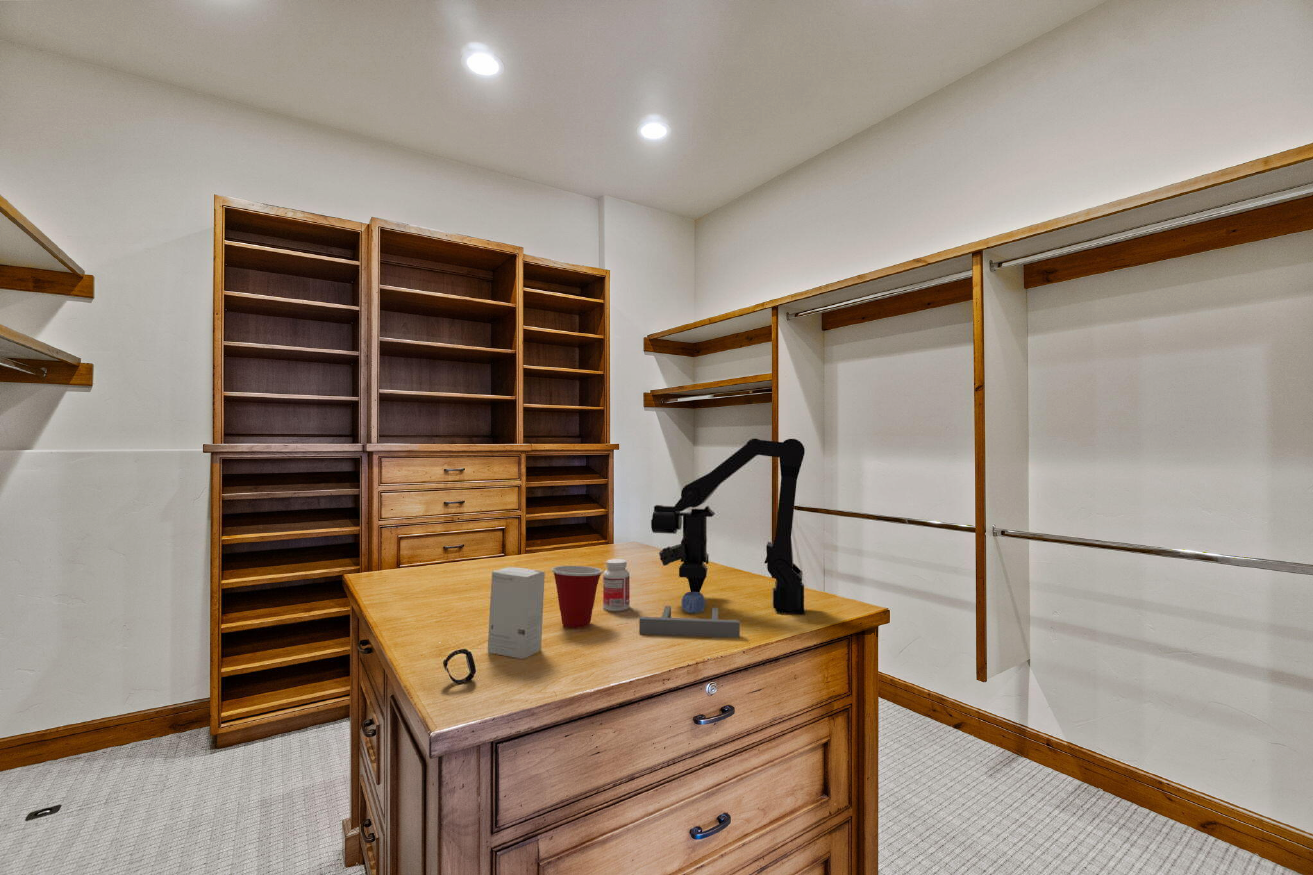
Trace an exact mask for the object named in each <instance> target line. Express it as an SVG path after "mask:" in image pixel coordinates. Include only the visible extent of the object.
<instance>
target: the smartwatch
mask: <svg viewBox="0 0 1313 875" xmlns="http://www.w3.org/2000/svg"><path fill="white" fill-rule="evenodd" d="M460 654H461V655H465V659H466V664H467V668H468V670H469V673H468V675H467V676H465V677H464V678H462V679H456V678H454V677H453V676H452V675H451V674H450V671H449V668H448V664H449V663H448V662H450V660H451V659H452V658H453V657H455V656H457V655H460ZM442 664H443V667H444V670H445V671H446V672H447V673H448V677H449V678H450V680H451V681H452V682H453V683H454V684H455V685H464V684H466V683H467V682H469V681H471V680H473V678H474V677H475V675H476V672H477V670H476V664H475V660H474V656H473V654H472V652H471V651H470V650H468V649H467V648H461V649H457V650H454V651H452V652H451V653H449V655H447V657H446V658H445V659H443V662H442Z"/></svg>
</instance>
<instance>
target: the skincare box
mask: <svg viewBox="0 0 1313 875" xmlns="http://www.w3.org/2000/svg"><path fill="white" fill-rule="evenodd" d="M545 573H546V572H545V571H542V570H536V569H530V568H525V567H523V568H522V567H515V566H507V567H504V568H500V569H495V570H493V571H491V583H490V584H491V586H490V600H489V601H490V602H489V618H488V619H489V622H488V634H487V635H488V637H487V638H488V639H487V653H488V654H492V655H498V656H505V657H511V658H512V657H513V658H516V659H521V660H525V659H526V658H528V657H530V656H532V655H534V654H536V653H537V652H540V651H541V650H542V636H543V617H544V616H543V613H544V596H545V595H544V594H545V593H544V592H545V578H546V577H545V576H546V575H545Z"/></svg>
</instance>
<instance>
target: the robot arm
mask: <svg viewBox="0 0 1313 875" xmlns="http://www.w3.org/2000/svg"><path fill="white" fill-rule="evenodd" d="M805 452H806V450H805V446H804V445H803V443H802V442H801V440H799V439H796V438H788V439H785V440H784V441H774V440H766V439H765V440H764V439H759V438H756V437H755V438H750V439H749V440H748V441H747V442H746V444H744V445H742V447H741V448H739V449H737V451H735V452H734V453H733V454H731V455H730V456H729V457H727V459H725V460H724V461H723V462H721V463H720V464H719V465H717V466H716V467H715V468H714V469H713V470H711V471H710V472H709V473H706V474H704V475H703V476H701V477H698V478H697V479H694V480H693V481H692V482H689V483H688V484H686V485H684V486H683V488H681V489H682V490H681V492H680V493H681V494H680V498H679V499H678V501H677V502H676V503H675V504H674V506H673V505H660V504H655V505H654V506H653V512H652V518H651V520H650V526H651V527H650V528H651V531H652V533H653V534H670V535H672V534H673V535H676V534H677V533H678V531H679V530H680V531H681V529H682V538H681V541H680V543H679V544H676V545H675V544H674V545H673V546H672V545H671V546H667V547H664V548H662V549H661V550H660V551H658V554H659V560H660V561H661V563H662V566H664V567H665V566H668V565H669V564H671V563H674V562H678V561H679V560H680V562H681V564H680V565H679V568H678V577H679V578H686V579H687V580H688V586H689V590H690V591H689V592H699V593H701V590H702V587H703V585H704V583H705V580H706V578H707V576H708V575H707V574H708V567H707V565H709V563H710V561H709V558H710V557H709V555H710V554H708V553H707V552H708V551H707V546H708V545H707V543H708V542H707V541H708V537H707V529H708V527H707V526H708V525H707V523H708V521H707V518H712V517H714V516H715V514H716V513H715V512H714V511H713V510H712V509H711V508H710V506H709V505H707V506H705V507H704V508H697V507H700V506H701V505H704V504H705V503H706V502H707V500H709V499H710V497H711V496H712V495H713V494H714V493H715V492H716V490H717V489H718V488H719V487H720V485H721V484H723V483H724V482H726V480H728V479H729V478H730V477H731V476H733V475H734V474H735V473H736V472H738V471H739V470H740V469H742V468H743V467H745V465H747V464H748V463H749V462H751V461H752V460H753V459H754V458H756V457H758V456H764V457H771V458H778V459H779V470H780V488H779V497H778V504H777V505H778V508H777V516H776V525H775V534H774V539H773V542H771V541H767V543H766V546H765V547H766V548H765V550H766V557H765V560H764V562H763V564H767V565H766V568H767V572H768V573H769V575H771V577H773V578H774V579H775V581H774V587H772V608H773V609H774V610H775V612H776V614H785V615H786V614H788V615H789V614H791V615H806V614H807V613H806V609H805V584H804V583H803V571H802V570H801V569H800V568H799V567H798V565H796V564H795V563H794V554H793V543H792V530H793V523H794V522H793V521H794V513H795V512H794V511H795V504H796V501H795V500H796V493H797V485H798V484H797V483H798V482H797V481H798V478H799V474H800V471H801V468H802V465H803V461H804V456H805ZM688 508H691V510H690V512H683V511H686V510H687V509H688Z"/></svg>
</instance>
